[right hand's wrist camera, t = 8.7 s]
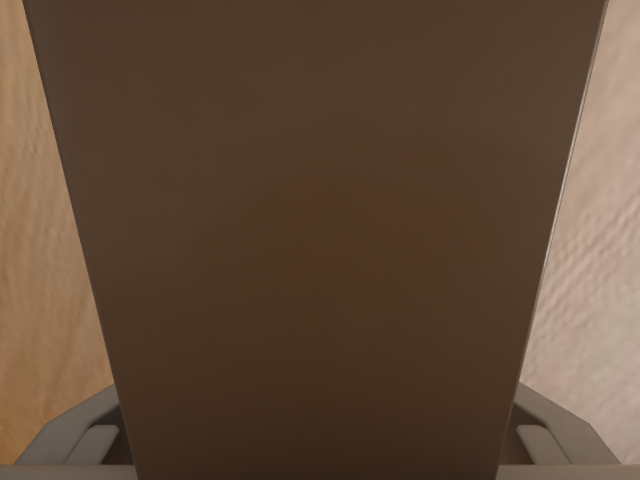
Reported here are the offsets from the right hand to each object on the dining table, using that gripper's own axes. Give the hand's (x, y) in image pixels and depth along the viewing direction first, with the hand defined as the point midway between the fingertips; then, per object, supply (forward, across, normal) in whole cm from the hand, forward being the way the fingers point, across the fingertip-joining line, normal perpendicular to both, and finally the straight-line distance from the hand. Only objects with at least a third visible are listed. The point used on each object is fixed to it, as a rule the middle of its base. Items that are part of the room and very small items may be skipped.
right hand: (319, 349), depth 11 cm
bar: (+3, 0, +10) cm, 10 cm away
